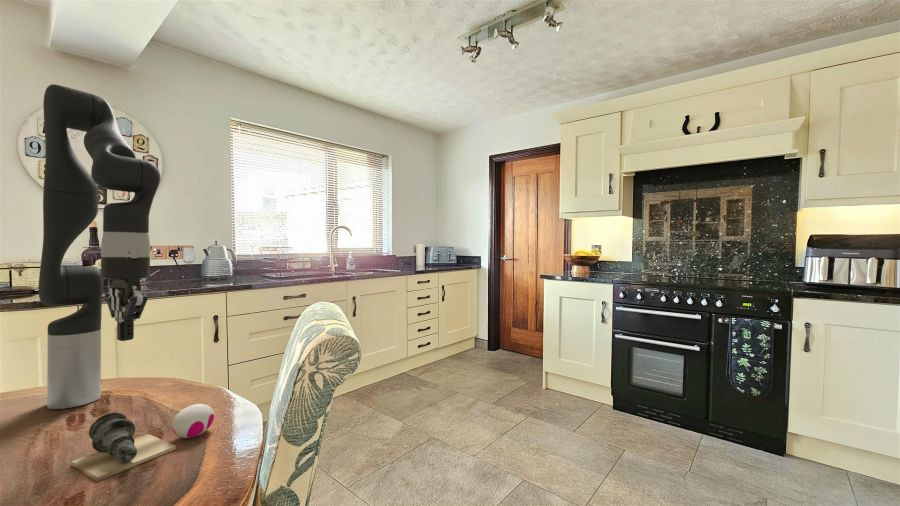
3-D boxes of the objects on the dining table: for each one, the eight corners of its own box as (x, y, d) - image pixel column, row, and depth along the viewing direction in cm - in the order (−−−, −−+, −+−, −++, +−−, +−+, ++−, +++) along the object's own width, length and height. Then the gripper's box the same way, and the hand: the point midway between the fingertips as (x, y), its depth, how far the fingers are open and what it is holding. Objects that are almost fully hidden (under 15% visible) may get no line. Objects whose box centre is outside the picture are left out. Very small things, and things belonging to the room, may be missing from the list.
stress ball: (183, 462, 70) (198, 436, 68) (156, 434, 71) (170, 408, 70) (218, 441, 77) (232, 417, 76) (193, 416, 78) (206, 392, 77)
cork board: (71, 464, 63) (71, 461, 63) (148, 436, 73) (148, 433, 73) (97, 481, 58) (97, 477, 58) (175, 449, 68) (175, 445, 68)
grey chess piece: (95, 449, 67) (116, 486, 60) (80, 426, 64) (100, 462, 58) (134, 426, 71) (157, 458, 65) (121, 404, 69) (144, 435, 62)
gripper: (88, 254, 75) (87, 339, 75) (117, 255, 69) (116, 348, 69) (133, 254, 82) (132, 332, 82) (164, 255, 75) (163, 340, 75)
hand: (125, 339), depth 75 cm, fingers closed
